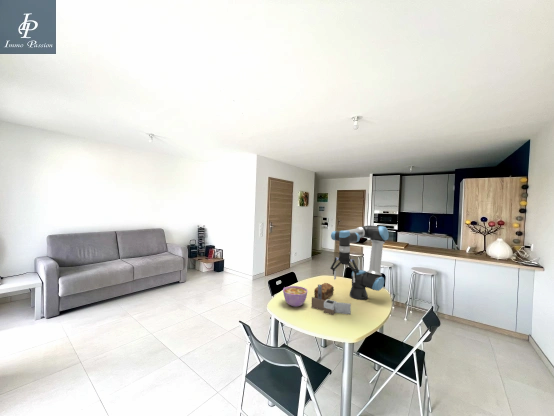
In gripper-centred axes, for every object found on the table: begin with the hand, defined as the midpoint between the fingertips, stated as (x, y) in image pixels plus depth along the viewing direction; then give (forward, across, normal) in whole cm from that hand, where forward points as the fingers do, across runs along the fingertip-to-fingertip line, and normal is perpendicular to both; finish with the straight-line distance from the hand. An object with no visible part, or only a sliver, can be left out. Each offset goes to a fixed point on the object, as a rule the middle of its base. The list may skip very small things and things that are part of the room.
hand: (344, 280), depth 158 cm
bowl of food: (+25, -38, -3) cm, 46 cm away
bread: (+25, -23, +27) cm, 43 cm away
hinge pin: (+25, -22, +10) cm, 34 cm away
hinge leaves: (+25, -10, 0) cm, 27 cm away
